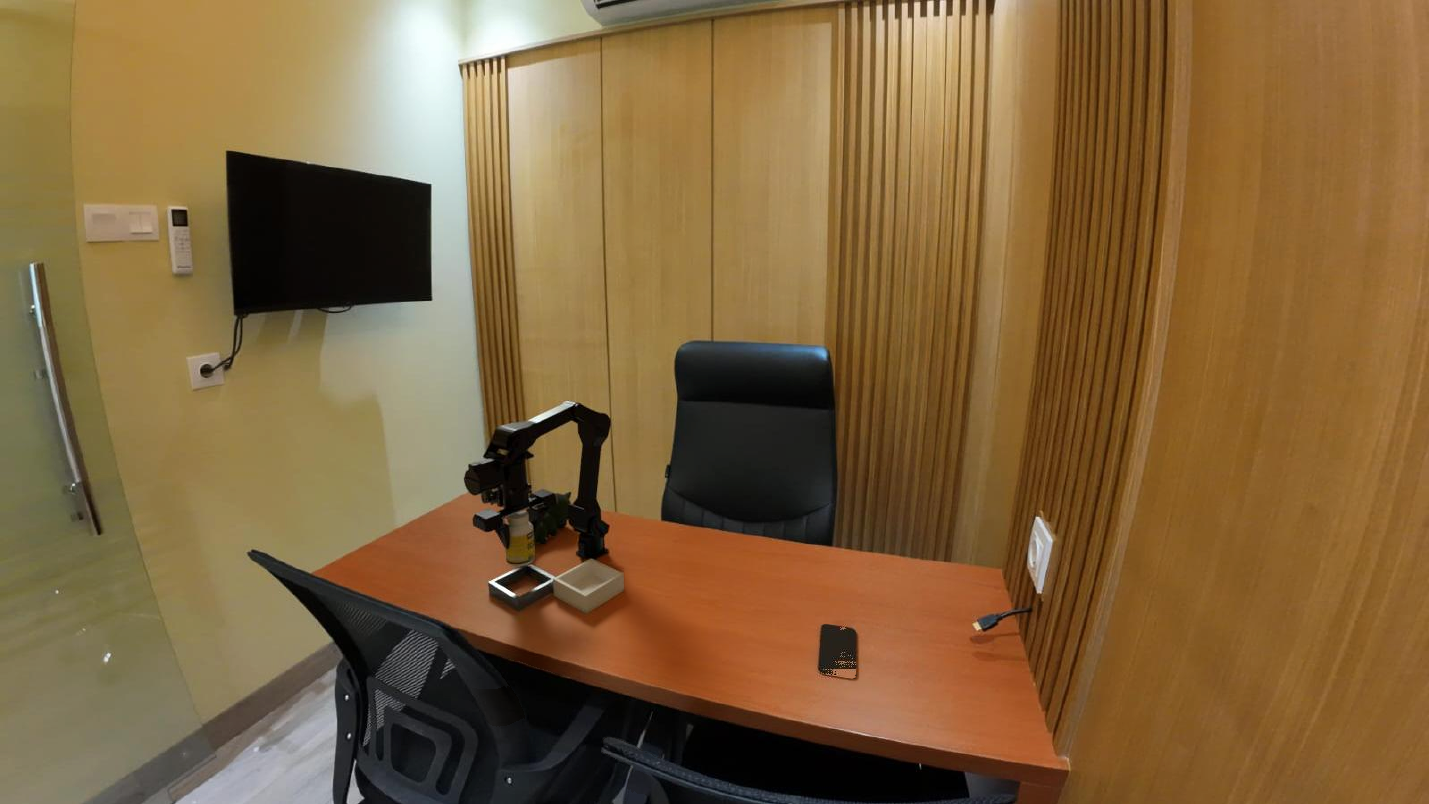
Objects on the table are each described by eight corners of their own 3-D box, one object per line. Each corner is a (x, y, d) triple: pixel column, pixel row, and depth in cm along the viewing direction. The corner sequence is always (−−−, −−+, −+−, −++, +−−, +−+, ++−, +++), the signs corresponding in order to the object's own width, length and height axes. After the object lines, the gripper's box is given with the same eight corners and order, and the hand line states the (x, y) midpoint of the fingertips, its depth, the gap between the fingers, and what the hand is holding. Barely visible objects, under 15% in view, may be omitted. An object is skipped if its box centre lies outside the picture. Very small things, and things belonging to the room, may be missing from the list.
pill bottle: (526, 569, 123) (523, 522, 120) (500, 565, 124) (497, 519, 122) (540, 555, 129) (537, 510, 127) (516, 552, 130) (513, 508, 128)
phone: (817, 672, 103) (821, 622, 117) (817, 675, 103) (820, 626, 117) (857, 678, 101) (856, 628, 115) (856, 682, 101) (855, 631, 115)
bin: (592, 574, 136) (591, 558, 135) (624, 590, 129) (623, 573, 128) (554, 595, 127) (552, 578, 126) (586, 614, 120) (585, 596, 119)
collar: (529, 573, 136) (528, 562, 136) (558, 589, 129) (558, 578, 129) (489, 593, 128) (487, 582, 127) (518, 611, 121) (517, 600, 120)
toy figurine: (532, 564, 144) (586, 518, 166) (522, 501, 138) (579, 462, 160) (504, 557, 147) (561, 513, 169) (493, 496, 141) (554, 458, 163)
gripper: (528, 461, 134) (533, 519, 138) (455, 484, 119) (463, 548, 123) (556, 471, 127) (560, 531, 131) (483, 497, 113) (490, 563, 117)
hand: (519, 542), depth 126 cm, fingers closed on pill bottle, 6 cm apart
